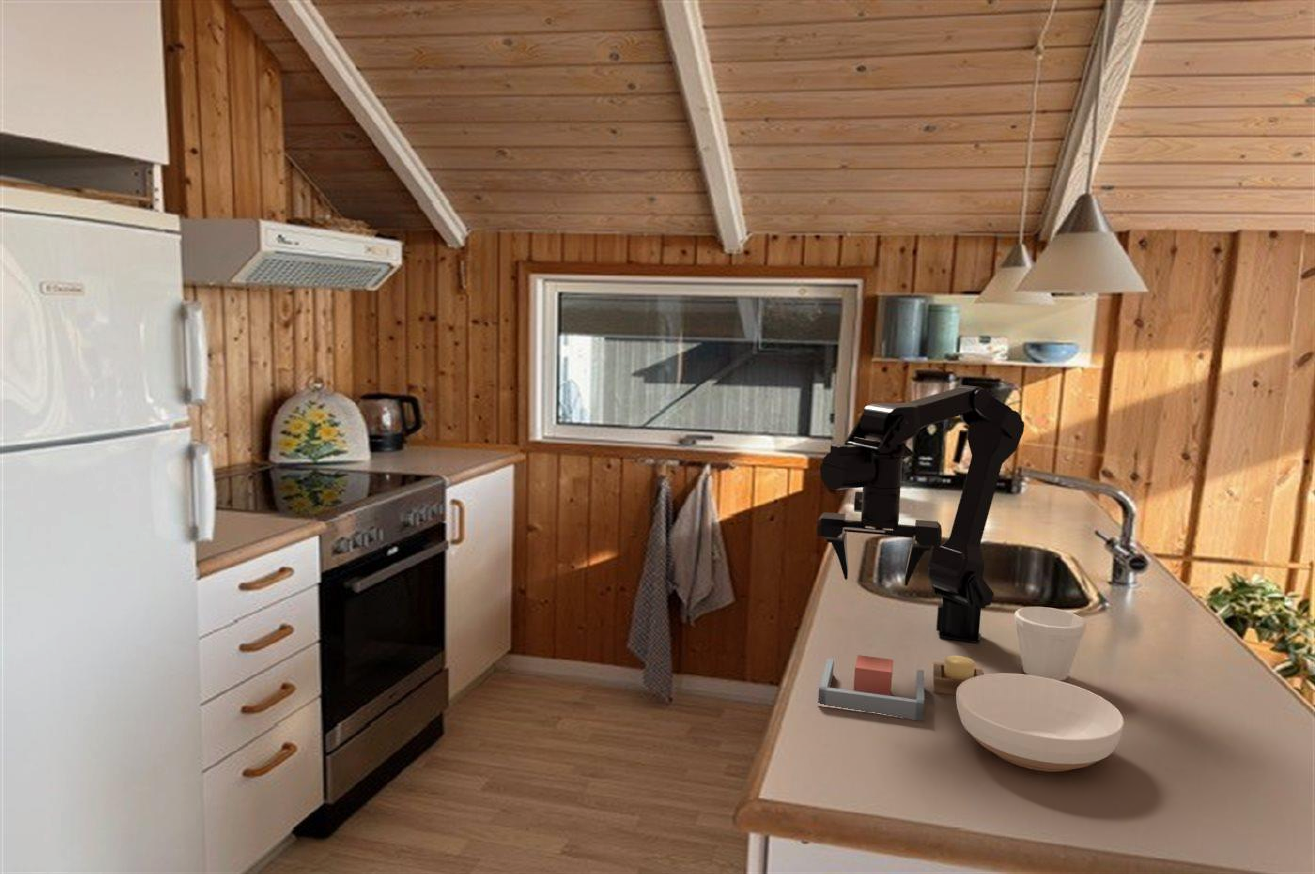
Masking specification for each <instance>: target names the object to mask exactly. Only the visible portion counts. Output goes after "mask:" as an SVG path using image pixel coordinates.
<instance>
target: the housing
mask: <svg viewBox="0 0 1315 874" xmlns="http://www.w3.org/2000/svg"><path fill="white" fill-rule="evenodd" d="M944 665H945V662H939V661H933V669H932V683H933V684H932V685H933V686H932V687H933V693H938V694H944V695H945V694H946V695H951V696H956V691H957V688H958V687H959V685H960V684H961V683H962V682H964V681H966V680H959V679H951V678H944ZM980 675H985V673H984V668H983V667H981V666H975V669H974V677H976V676H980Z"/></svg>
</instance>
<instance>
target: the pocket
mask: <svg viewBox="0 0 1315 874" xmlns="http://www.w3.org/2000/svg"><path fill="white" fill-rule="evenodd" d="M834 664H835V659H834V658H829V657H827V658H826V662H825V666H824V669H823V672H822V676H821V681H820V683H819V684H820V685H819V687H818V699H817V704H818V703H820V704H824V705H828V706H835V707H841V708H848V709H854V710H861V711H865V712H875V713H881V714H886V715H892V716H897V717H902V718H901V719H904V718H908V719H907V720H911V719H912V720H913V721H918V722H923V721H924V713H925V710H924V709H925V671H924V669H923V670H922V669H916V675H915V699H914V698H909V697H908V698H907V697H902V696H893V695H891V696H887V695H880V694H872V693H865V692H858V691H854V690H850V689H849V690H848V689H843V688H834V687H831V685H832V680H833V677H832V676H834ZM830 684H831V685H830ZM897 717H896V718H897ZM912 720H911V721H912Z"/></svg>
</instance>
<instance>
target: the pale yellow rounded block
mask: <svg viewBox="0 0 1315 874" xmlns="http://www.w3.org/2000/svg"><path fill="white" fill-rule="evenodd" d="M944 663H945V665H944V678H951V679H959V680H968V679H969V678H973V677H974V669H975V667H976V666H975V665H976V662H975V661H974V660H973V659H971V658H969V657H966V656H961V655H949V656H946V657H945V658H944Z"/></svg>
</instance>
